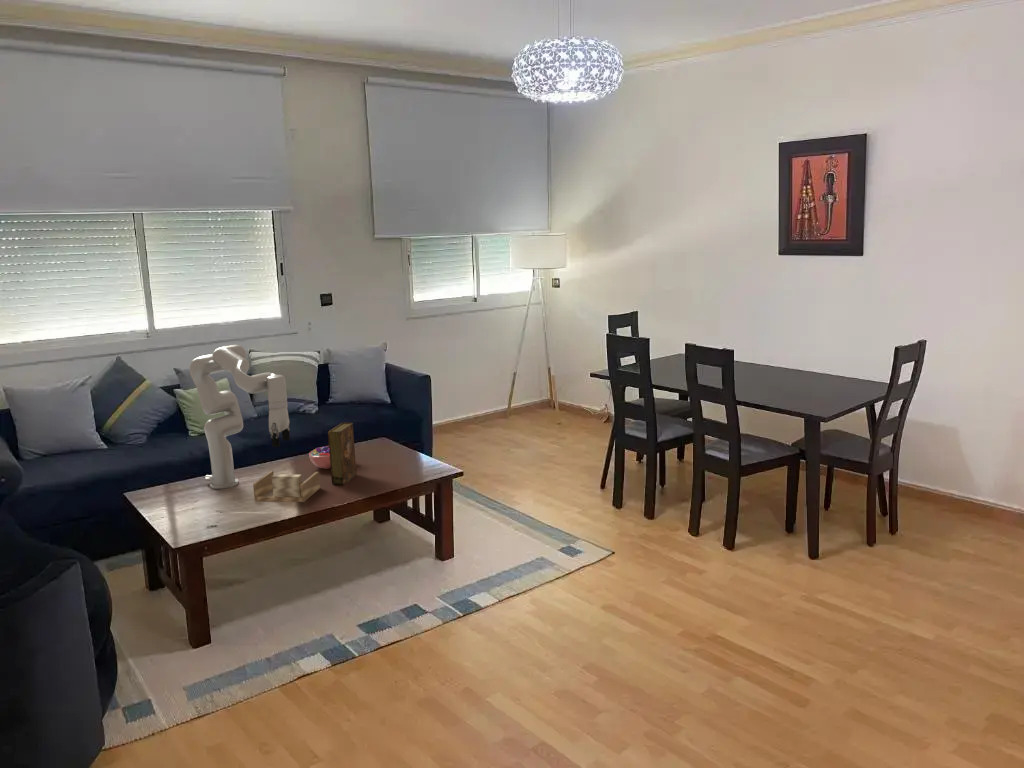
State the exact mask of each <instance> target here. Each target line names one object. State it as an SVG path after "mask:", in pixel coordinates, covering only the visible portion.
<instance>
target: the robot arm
mask: <svg viewBox="0 0 1024 768" xmlns="http://www.w3.org/2000/svg"><path fill="white" fill-rule="evenodd" d="M189 364H190V365H189V373H190V377H191V379H192V381H193V383H194V385H195V388H196V390H197V394H198V395H197V396H198V398H199V401H200V402H199V403H200V405H201V409H202V411H203V413H204V414H205V415H206V416H214V415H218V414H222V413H224V414H223V415H219V416H215V417H212V418H210V419H208V420H207V421H206V422H205V423H204V426H203V427H204V433H205V437H206V440H207V444H208V445H207V446H208V450H209V459H210V460H209V461H210V467H211V475H209V474H206V475H205V477H204V478H205V479H204V480H205V481H210V482H209V488H211V489H217V490H220V489H223V490H224V489H229V488H232V487H235V486H237V485H239V483H240V482H239V481H240V480H239V479H238V478H236V475H235V468H234V466H235V465H234V458H233V456H234V455H233V448H232V445H231V443H230V441H229V440H228V439H227V437H229V436H231V435H235V434H238V433H240V432H241V431H243V428H244V419H243V416H242V412H241V408H240V405H239V400H238V398H237V396H236V395H235V393H234V392H233V391H231V390H226V389H225V390H221V391H219V388H218V385H217V382H216V381H215V379H214V378H213V377H212V376H211V375H212V374H217V373H221V372H228V373H230V374H231V375H233V380H234V383H235V385H236V386H237V387H238V388H239V389H240V390H243V391H244V392H245V393H248V394H253V395H254V394H258V393H263V392H266V391H267V399H268V430H269V431H268V432H269V435H270V439H271V446H272V448H280V447H281V443H280V442H281V441H280V437H279V436H280V433H281V436H282V437H281V438H282V441H290V440H291V435H290V430H291V429H290V422H291V421H290V418H289V411H288V395H287V394H288V393H287V382H286V381H287V380H286V377H285V376H284V375H283V374H276V373H274V372H270V371H268V372H263V373H262V372H261V373H258V374H253V375H248V374H247V373H248V371H249V370H250V362H249V360H248V358H247V351H246V349H245V348H244V347H243V346H242V345H240V344H230V345H224V346H221V347H218V348H216V349H214V351H213V352H212V353H211V354H206V355H201V356H198V357H196V358H194V359H192V360H191V362H190V363H189Z"/></svg>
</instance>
